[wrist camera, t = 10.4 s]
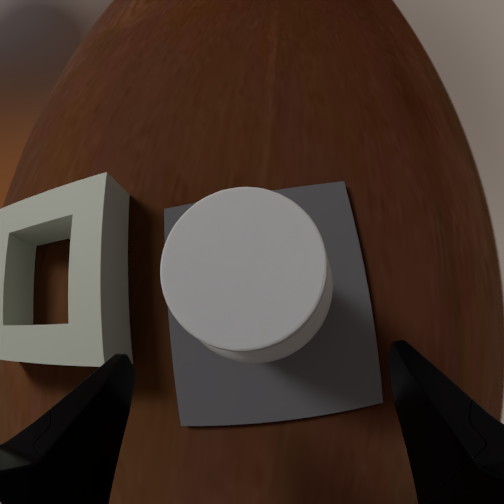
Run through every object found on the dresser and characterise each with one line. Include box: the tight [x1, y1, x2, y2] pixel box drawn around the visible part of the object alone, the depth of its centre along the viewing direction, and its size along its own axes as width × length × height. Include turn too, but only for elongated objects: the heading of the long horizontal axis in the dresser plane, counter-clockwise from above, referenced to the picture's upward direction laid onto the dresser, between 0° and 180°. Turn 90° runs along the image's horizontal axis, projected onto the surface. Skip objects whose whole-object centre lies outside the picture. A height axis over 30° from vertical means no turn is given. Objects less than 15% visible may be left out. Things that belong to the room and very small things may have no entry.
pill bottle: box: [160, 187, 333, 363], centre depth 13 cm, size 6×6×10 cm
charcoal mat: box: [164, 181, 383, 426], centre depth 18 cm, size 14×12×1 cm
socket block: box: [0, 172, 133, 367], centre depth 19 cm, size 12×12×4 cm
